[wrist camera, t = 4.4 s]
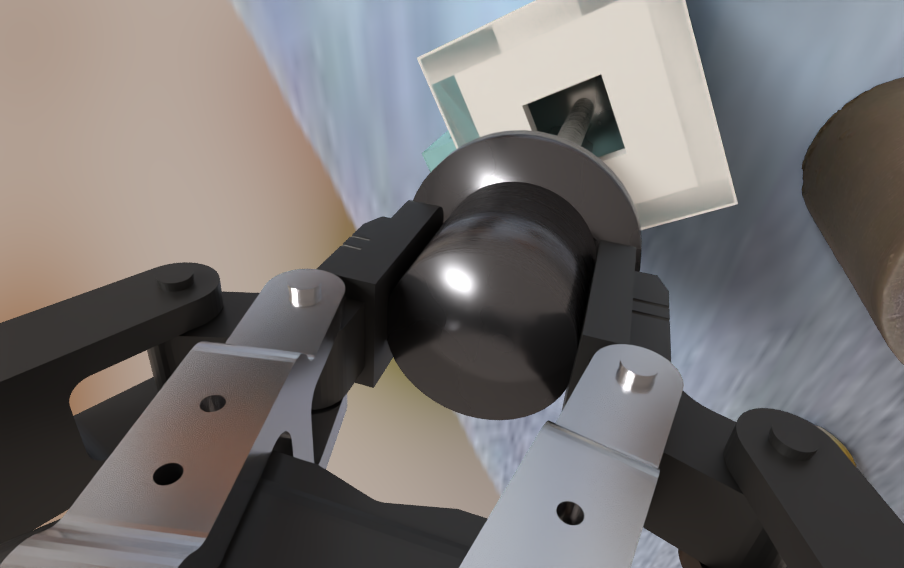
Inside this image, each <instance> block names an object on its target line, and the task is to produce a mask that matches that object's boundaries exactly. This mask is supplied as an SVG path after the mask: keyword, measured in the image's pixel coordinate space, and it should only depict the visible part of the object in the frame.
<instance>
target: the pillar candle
mask: <svg viewBox="0 0 904 568" xmlns="http://www.w3.org/2000/svg"><path fill="white" fill-rule="evenodd" d="M802 169H803V186H802V196H803V198H804V201H805V203H806V206H807V208H808V210H809V212H810V214H811V216H812V217H813V219H814V221H815V223H816V224H817V226H818V228H819V229H820V231H821V233H822V235H823V236H824V238H825V240H826V241H827V243H828V245H829V246H830V248H831V250H832V251H833V253H834V255H835V257H836V259H837V261H838V262H839V264H840V265H841V266H842V268H843V270H844V271H845V273H846V275H847V276H848V278H849V280H850V282H851V283H852V285H853V287H854V288H855V290H856V292H857V293H858V295H859V297H860V299H861V301H862V302H863V304H864V306H865V307H866V309H867V310H868V312H869V314H870V316H871V318H872V320H873V321H874V323H875V325H876V326H877V328H878V330H879V331H880V333H881V335H882V336H883V338H884V340H885V341H886V343H887V345H888V347H889V348H890V349H891V351H892V352H893V353H894V354H895V356H896V357H897V358H898V360H899V361H900V362H901V363H902V364H903V365H904V77H903V78H899V79H895V80H893V81H890V82H886V83H883V84H881V85H878V86H876V87H874V88H872V89H871V90H869V91H865V92H864V93H862V94H860V95H859V96H857V97H856V98H854V99H853V100H851V101H850V102H848V103H846V105H844V106H843V107H842V109H841V110H838V111H837V113H835V114H834V115H833V116H832V117H831V118H830V119H829V120H828V121H827V122H826V123H825V125H824V126H823V127H822V128H821V129H820V130H819V132H818V134H817V135H816V137H815V138H814V140H813V142H812V143H811V145H810V146H809V148H808V150H807V153H806V155H805V159H804V160H803V164H802Z"/></svg>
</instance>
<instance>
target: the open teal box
mask: <svg viewBox="0 0 904 568" xmlns="http://www.w3.org/2000/svg"><path fill="white" fill-rule="evenodd" d="M417 59H418V62H419V64H420V66H421V69H422V71H423V73H424V75H425V78H426V80H427V82H428V85H429V87H430V89H431V91H432V94H433V96H434V98H435V101H436V103H437V105H438V108H439V110H440V112H441V114H442V117H443V119H444V121H445V124H446V126H447V128H448V131H447V132H446V133H444V134H443V135H442V136H441V137H440V138H439V139H438V140H436V141H435V142H434V143H433V144H432V145H431V146H430V147H429V148H427V149H426V150H425V151H424V152H423V153H422V155H423V157H424V159H425V161H426V164H427V166H428V168H429V170H430V172H432V170H433V169H434V168H435V167H436V166H437V165H438V164H439V163H440V162H441V161H443V160H444V159H445V158H446V157H447V156H448V155H449V154H450V153H451V152H453V151H454V150H456V149H457V148H459V147H460V146H462V145H463V144H465V143H467V142H470V141H472V140H474V139H476V138H478V137H482V136H485V135H488V134H491V133H496V132H502V131H510V130H528V131H537V128H536V126H535V123H534V120H533V118H532V115H531V112H530V110H529V107H528V103H531V102H533V101H536V100H538V99H541V98H543V97H545V96H548V95H550V94H553V93H555V92H558V91H560V90H563V89H565V88H568V87H570V86H573V85H575V84H578V83H580V82H583V81H585V80H588V79H590V78H593V77H595V76H598V75H600V74H601V75H602V78H603V81H604V84H605V88H606V91H607V94H608V97H609V100H610V103H611V106H612V109H613V112H614V115H615V118H616V122H617V125H618V128H619V131H620V134H621V137H622V140H623V143H624V146H625V148H624V149H621V150H618V151H615V152H612V153H609V154H606V155H603V156H600V157H598V158H600V159H601V160H602V161H603V162H604V163H605V164H606V165H607V166H608V167H609V168H610V169H611V170H612V171H613V172H614V173H615V174H616V176H617V177H618V178H619V179H620V180H621V182H622V183H623V185H624V186H625V188H626V190H627V191H628V193H629V195H630V196H631V199H632V201H633V203H634V206H635V208H636V211H637V214H638V218H639V222H640V227H641V230H644V229H647V228H651V227H655V226H658V225H662V224H666V223H670V222H673V221H677V220H681V219H684V218H688V217H692V216H696V215H699V214H703V213H707V212H710V211H714V210H718V209H722V208H725V207H729V206H733V205H736V204H738V202H737V198H736V194H735V190H734V187H733V183H732V179H731V175H730V171H729V167H728V163H727V160H726V156H725V152H724V148H723V144H722V140H721V136H720V133H719V129H718V125H717V121H716V117H715V113H714V109H713V106H712V102H711V98H710V94H709V90H708V86H707V82H706V79H705V75H704V71H703V67H702V63H701V59H700V56H699V52H698V48H697V44H696V40H695V36H694V32H693V29H692V25H691V21H690V17H689V13H688V9H687V5H686V2H685V0H535V1H533V2H531V3H529V4H527V5H525V6H523V7H521V8H519V9H517V10H515V11H513V12H511V13H509V14H507V15H504V16H502V17H500V18H498V19H496V20H494V21H492V22H490V23H488V24H486V25H484V26H482V27H480V28H478V29H476V30H473V31H471V32H469V33H467V34H465V35H463V36H461V37H459V38H457V39H455V40H453V41H451V42H449V43H447V44H445V45H443V46H440V47H438V48H436V49H434V50H432V51H430V52H428V53H426V54H424V55H422V56H420V57H418V58H417Z"/></svg>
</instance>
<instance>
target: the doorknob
mask: <svg viewBox="0 0 904 568" xmlns="http://www.w3.org/2000/svg"><path fill="white" fill-rule="evenodd" d="M528 107H529V110H530V112H531V115H532V118H533V120H534V123H535V126H536V128H537V131H528V130H510V131H502V132H496V133H491V134H488V135H485V136H482V137H478V138H476V139H474V140H472V141H470V142H467V143H465V144H463V145H462V146H460V147H459V148H457V149H456V150H454V151H453V152H451V153H450V154H449V155H448V156H447V157H446V158H445V159H444V160H443V161H441V162H440V163H439V164H438V165H437V166H436V167H435V168H434V169H433V170H432V172H431V173H430V174H429V175H428V176H427V178H426V179H425V180H424V181H423V183H422V184H421V186H420V188H419V189H418V191H417V193H416V195H415V197H414V200H413V201H416V202H421V203H426V204H431V205H436V206H441V207H442V208H443V212H444V221H443V225H442V226H441V227H440V229H439V230H438V231H437V233H436V234H435V235H434V237H433V238H432V239H431V240H430V242H429V243H428V244H427V246H426V247H425V248H424V249H423V251H422V252H421V253H420V255H419V256H418V257H417V259H416V260H415V261H414V262H413V264H412V265H411V266H410V268H409V269H408V270H407V272H406V273H405V274H404V275H403V277H402V278H401V279H400V281H399V282H398V283H397V285H396V286H395V288H394V289H393V291H392V293H391V295H390V297H389V300H388V311H387V342H388V345H389V348H390V351H391V353H392V355H393V357H394V359H395V361H396V363H397V364H398V366H399V367H400V369H401V370H402V372H403V373H404V374H405V376H406V377H407V378H408V379H409V380H410V381H411V382H412V383H413V384H414V385H415V387H417V388H418V389H419V390H420V391H421V392H423V393H424V394H425V395H426V396H428V397H429V398H431V399H432V400H434V401H435V402H437V403H439V404H441V405H443V406H444V407H446V408H448V409H451V410H453V411H455V412H458V413H461V414H464V415H467V416H471V417H475V418H481V419H488V420H509V419H516V418H521V417H526V416H529V415H532V414H535V413H537V412H539V411H541V410H543V409H545V408H546V407H548V406H549V405H551V404H552V403H553V402H555V401H556V400H557V399H558V398H559V397H560V396H561V395H562V394H563V392H564V391H565V390H566V388H567V387H568V385H569V382H570V378H571V374H572V370H573V366H574V362H575V358H576V354H577V350H578V345H579V339H580V334H581V329H582V324H583V319H584V314H585V309H586V304H587V299H588V294H589V289H590V284H591V279H592V274H593V269H594V263H595V259H596V255H597V251H598V247H599V243H600V240H605V241H609V242H614V243H619V244H624V245H629V246H634V247H636V260H635V271H638V272H639V271H640V263H641V245H642V238H641V227H640V222H639V218H638V214H637V211H636V208H635V206H634V203H633V201H632V199H631V196H630V195H629V193H628V191H627V190H626V188H625V186H624V185H623V183H622V182H621V180H620V179H619V178H618V177H617V176H616V174H615V173H614V172H613V171H612V170H611V169H610V168H609V167H608V166H607V165H606V164H605V163H604V162H603V161H602V160H601V159H600V158H598V157H600V156H603V155H606V154H609V153H612V152H615V151H618V150H621V149H624V148H625V146H624V143H623V140H622V137H621V134H620V131H619V128H618V125H617V122H616V118H615V115H614V112H613V109H612V106H611V103H610V100H609V97H608V94H607V91H606V88H605V84H604V81H603V78H602V75H601V74H600V75H598V76H595V77H593V78H590V79H588V80H585V81H583V82H580V83H578V84H575V85H573V86H570V87H568V88H565V89H563V90H560V91H558V92H555V93H553V94H550V95H548V96H545V97H543V98H541V99H538V100H536V101H533V102H531V103H528Z"/></svg>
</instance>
